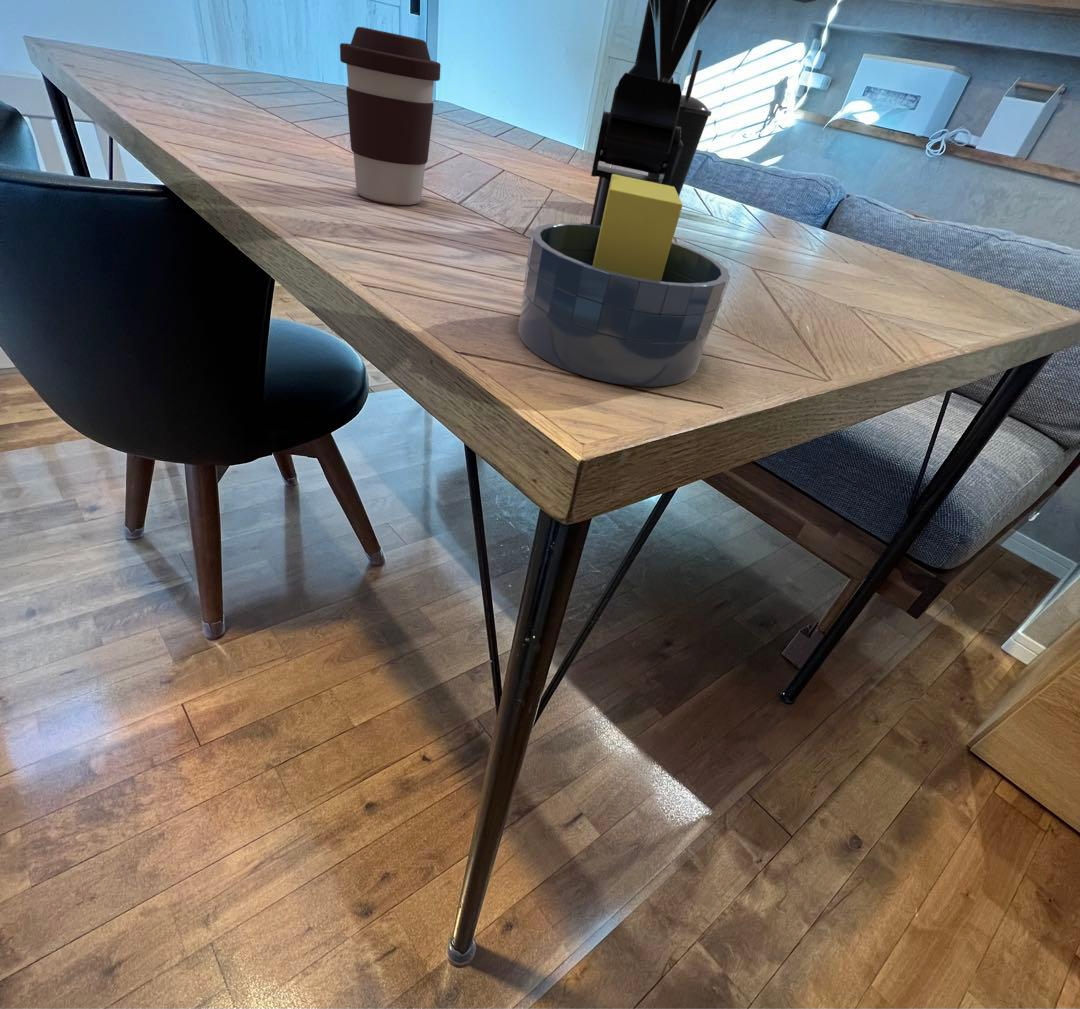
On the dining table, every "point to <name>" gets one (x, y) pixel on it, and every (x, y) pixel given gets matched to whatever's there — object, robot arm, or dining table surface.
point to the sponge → (637, 227)
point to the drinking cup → (688, 129)
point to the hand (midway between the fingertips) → (664, 80)
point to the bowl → (617, 310)
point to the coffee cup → (389, 113)
